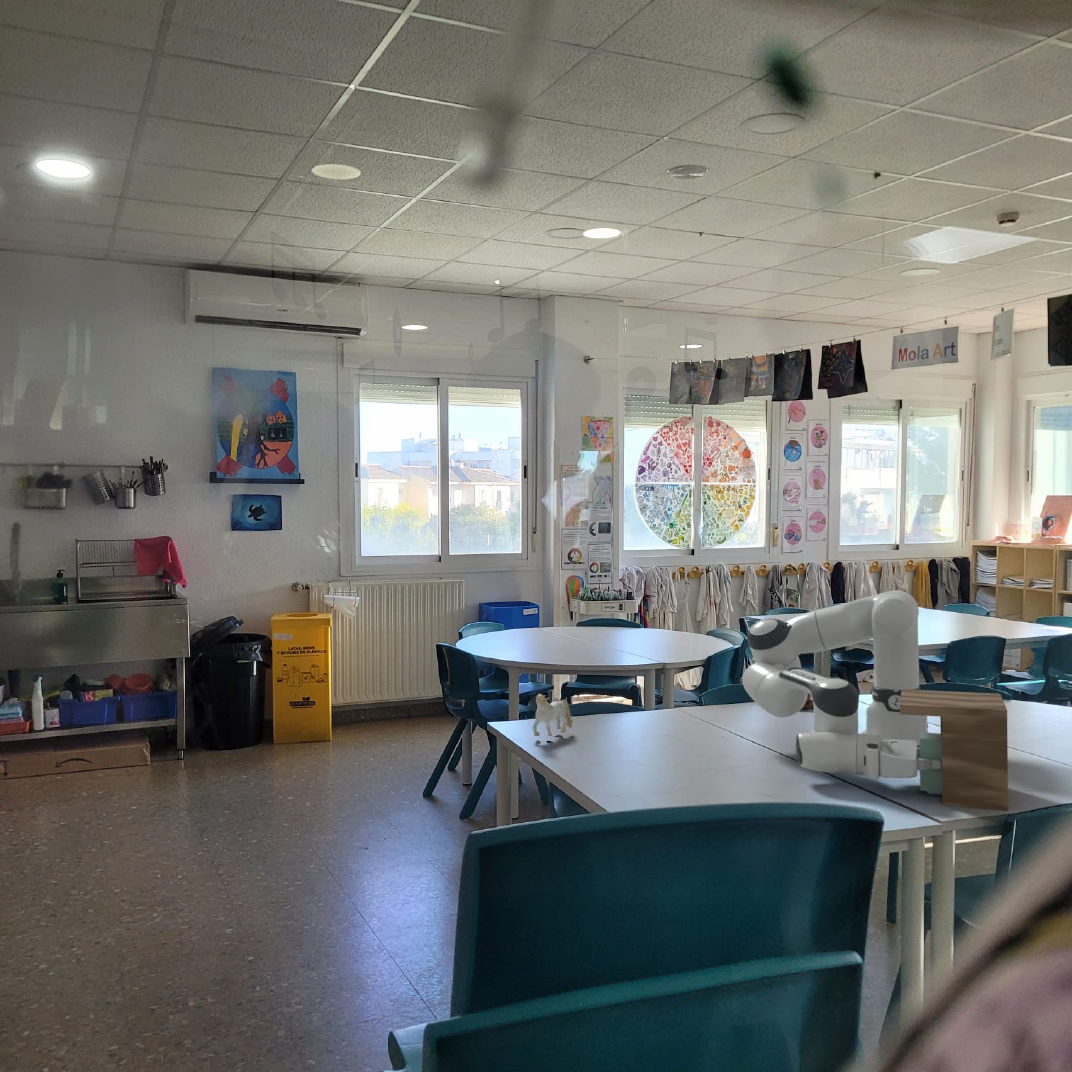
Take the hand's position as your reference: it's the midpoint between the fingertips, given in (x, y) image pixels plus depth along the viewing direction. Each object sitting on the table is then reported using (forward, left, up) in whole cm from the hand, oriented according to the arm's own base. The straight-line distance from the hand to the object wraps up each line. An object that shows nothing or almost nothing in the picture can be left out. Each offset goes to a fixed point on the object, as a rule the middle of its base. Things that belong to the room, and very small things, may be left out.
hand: (940, 760), depth 210 cm
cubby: (0, +3, -7) cm, 8 cm away
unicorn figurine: (-21, -94, -7) cm, 97 cm away
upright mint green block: (0, -1, -6) cm, 6 cm away
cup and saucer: (-88, -40, -7) cm, 96 cm away
